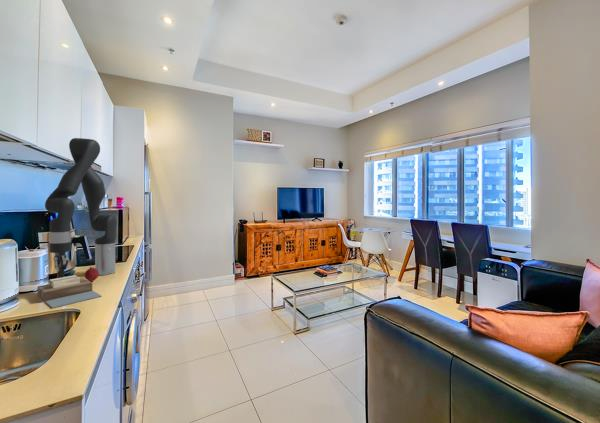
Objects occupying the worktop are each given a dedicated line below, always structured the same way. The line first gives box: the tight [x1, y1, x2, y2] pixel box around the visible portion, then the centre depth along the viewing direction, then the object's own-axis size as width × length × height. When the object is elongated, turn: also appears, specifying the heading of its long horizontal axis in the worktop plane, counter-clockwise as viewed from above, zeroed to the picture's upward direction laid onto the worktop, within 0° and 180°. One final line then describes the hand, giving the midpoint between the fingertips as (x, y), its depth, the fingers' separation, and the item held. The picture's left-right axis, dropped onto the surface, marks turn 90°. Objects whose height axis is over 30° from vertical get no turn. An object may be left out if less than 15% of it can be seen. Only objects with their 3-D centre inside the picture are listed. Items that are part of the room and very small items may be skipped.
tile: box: [49, 274, 81, 288], centre depth 119 cm, size 6×9×2 cm, turn 145°
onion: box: [84, 265, 100, 283], centre depth 135 cm, size 6×6×8 cm
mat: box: [45, 290, 102, 309], centre depth 112 cm, size 10×16×1 cm, turn 145°
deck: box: [37, 277, 93, 303], centre depth 118 cm, size 12×16×4 cm
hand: (60, 278), depth 121 cm, fingers closed
